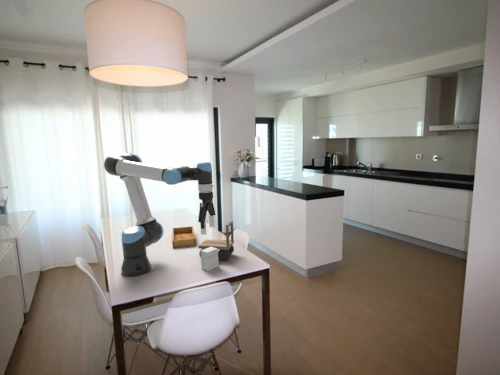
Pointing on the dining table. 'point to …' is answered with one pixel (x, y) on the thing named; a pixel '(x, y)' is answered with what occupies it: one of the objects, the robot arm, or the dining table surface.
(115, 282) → the dining table surface
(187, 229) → the tray
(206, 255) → the small box
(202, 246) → the trolley
